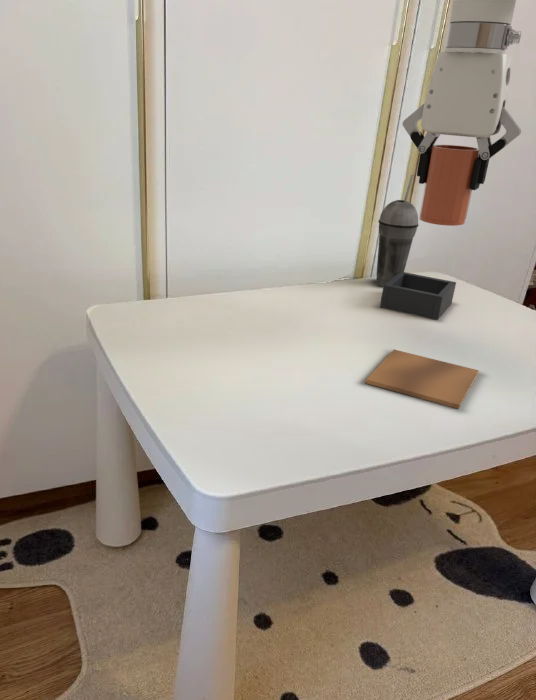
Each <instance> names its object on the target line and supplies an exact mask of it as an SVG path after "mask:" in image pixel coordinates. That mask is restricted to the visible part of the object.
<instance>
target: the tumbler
mask: <svg viewBox="0 0 536 700" xmlns="http://www.w3.org/2000/svg"><path fill="white" fill-rule="evenodd" d="M479 154H480V152H479V148H478V147H474V146H466V145H455V144H434V145H432V148H431V153H430V159H429V165H428V170H427V176H426V182H425V183H424V187H423V194H422V199H421V205H420V210H419V211H420V212H419V217H418V220H420V221H421V222H424V223H428V224H432V225H437V226H449V227H450V226H452V227H453V226H454V227H455V226H456V227H457V226H462V225H465V223H466V219H467V215H468V212H469V211H468V210H469V207H470V202H471V198H472V193H473V190H471V189H470V183H471V179H472V174H473V169H474V164H475V160H477V159H478V157H479Z"/></svg>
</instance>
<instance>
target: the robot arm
mask: <svg viewBox="0 0 536 700" xmlns="http://www.w3.org/2000/svg"><path fill="white" fill-rule="evenodd" d="M516 3H517V0H452V6H451V10H450V18H449V25H448V29H447V33H446V40H445V46H444V51H440V52H439V53H438V55H437V58H436V60H435V64H434V66H433V70H432V73H431V75H430V80H429V84H428V87H427V91H426V96H425V100H424V103H423V104H422V105H421V106H419V108H417V109H415V110H414V111H413V112H412V113H411V114H410V115H408V116H407V117H406V118H405V119H404V120H403V121H402V127H403V128H404V130H405V131H406V133H407V134H408V136H409V138H410V140H411V141H412V143H413V144H414V145H415V147H416V149H417V152H418V153H419V158H418V165H417V171H416V177H419V179H418V184H420V185H425V182H426V176H427V170H428V165H429V159H430V153H431V148H432V145H436V142H437V141H438V139H439V138H440V136H441V135H444V136H455V137H467V138H476V143H477V148H479V152H480V154H479V157H478V159H477V160H475V164H474V169H473V174H472V179H471V183H470V189H471V190H472V191H476V190H478V189H479V188H480V186H481V185H483V184H485V181H486V177H487V171H488V168H489V164H490V163H489V162H490V159H491V158H493V157H494V156H495V155H496V154H498V153H499V152H500V151H501V150H503V149H504V148H506V147H507V146H508V145H509V144H510V143H512V142H513V141H514V140H515V139H516V138H518V137H519V136H520V135H521V134H522V129H521V128H520V126H519V125H518V124H517V122H516V121H515V119H514V118H513V117H512V116H511V114H510V113H509V111H508V110H507V108H506V106H507V100H508V94H509V89H510V88H509V87H510V80H511V72H512V71H511V70H512V69H511V68H512V55H511V54H509V53H508V54H507V53H506V50H508V48H509V47H510V46H511V45H513V44H517V45H518V44H520V41H521V37H522V31H516V30H515V29H513V28H512V27H513V26H512V23H513V17H514V12H515V9H516ZM419 121H421V123H420V125H421V129H422V130H423V131H425V132H426V134H425V135H424V134H423V132H421V131H420V130H419V127H418V125H417V124H418V122H419ZM502 126H503V128H504V129H505V133H504V135H502V136H501V137H500V138H499V139H498V140H496V141H494V142H493V143H492V138H491V136H495V135H497V134H499V132H500V131H501V129H502Z"/></svg>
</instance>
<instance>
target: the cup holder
mask: <svg viewBox="0 0 536 700" xmlns="http://www.w3.org/2000/svg"><path fill="white" fill-rule="evenodd" d="M456 285H457V281H451V280H446V279H441V278H436V277H431V276H427V275H422V274H415V273H410V272H405V271H404V272H400V273H398V274H397V275H396V276H395V277H393V278H392V279H391V280H390V281H388V282H387V283H386V284H384V286H382V293H381V299H380V304H379V308H382V309H386V310H391V311H396V312H399V313H400V312H401V313H405V314H409V315H413V316H417V317H423V318H427V319H432V320H435V321H436V320H437V321H439V319H440V318H441V317H442V316H443V314H444V313H445V312H446V311H447V310H448V309H449V307H450V306H451V305H452V303H453V299H454V295H455V289H456Z"/></svg>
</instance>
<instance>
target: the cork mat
mask: <svg viewBox="0 0 536 700" xmlns="http://www.w3.org/2000/svg"><path fill="white" fill-rule="evenodd" d="M479 372H480V370H479V369H476V368H471V367H467V366H463V365H459V364H456V363H455V364H454V363H451V362H446V361H443V360H438V359H435V358H430V357H428V356H427V357H426V356H422V355H418V354H415V353H410V352H406V351H403V350H398V349H393V350H392V351H391V352H390V353H389V354H388V355H387V356H386V357H385V359H384V360H383V361H382V362H381V363H380V364H379V365H378V366H377V367H376V368H375V369H374V370H373V371H372V372H371V373H370V374H369V375H368V377H367V378H366V379H365V384H367V385H371V386H374V387H378V388H382V389H385V390H389V391H392V392H396V393H400V394H403V395H407V396H411V397H414V398H417V399H422V400H425V401H429V402H432V403H437V404H439V405H443V406H447V407H451V408H454V409H457V410H458V409H460V407H461V405H462V403H464V400H465V399H466V396H467V395H468V393H469V391H470V390H471V387H472V386H473V384H474V382H475V380H476V378H477V377H478V375H479Z"/></svg>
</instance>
